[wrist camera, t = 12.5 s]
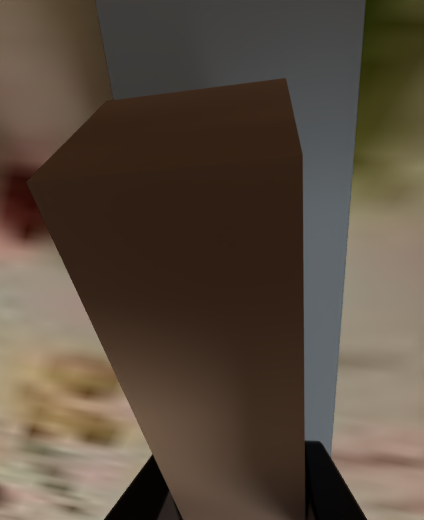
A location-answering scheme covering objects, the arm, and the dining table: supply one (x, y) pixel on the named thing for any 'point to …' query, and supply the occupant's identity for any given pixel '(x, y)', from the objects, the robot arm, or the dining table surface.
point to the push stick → (196, 283)
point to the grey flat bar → (305, 112)
